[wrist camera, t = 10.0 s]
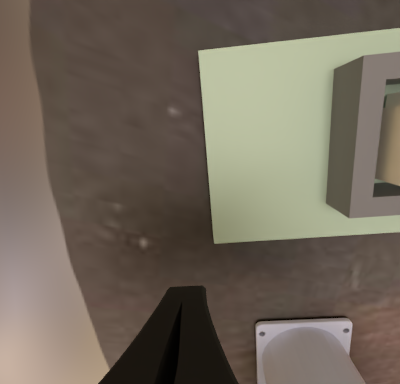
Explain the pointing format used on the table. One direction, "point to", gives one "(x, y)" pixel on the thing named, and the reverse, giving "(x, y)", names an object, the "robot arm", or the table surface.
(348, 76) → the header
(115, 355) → the table surface
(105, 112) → the table surface
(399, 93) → the plug
